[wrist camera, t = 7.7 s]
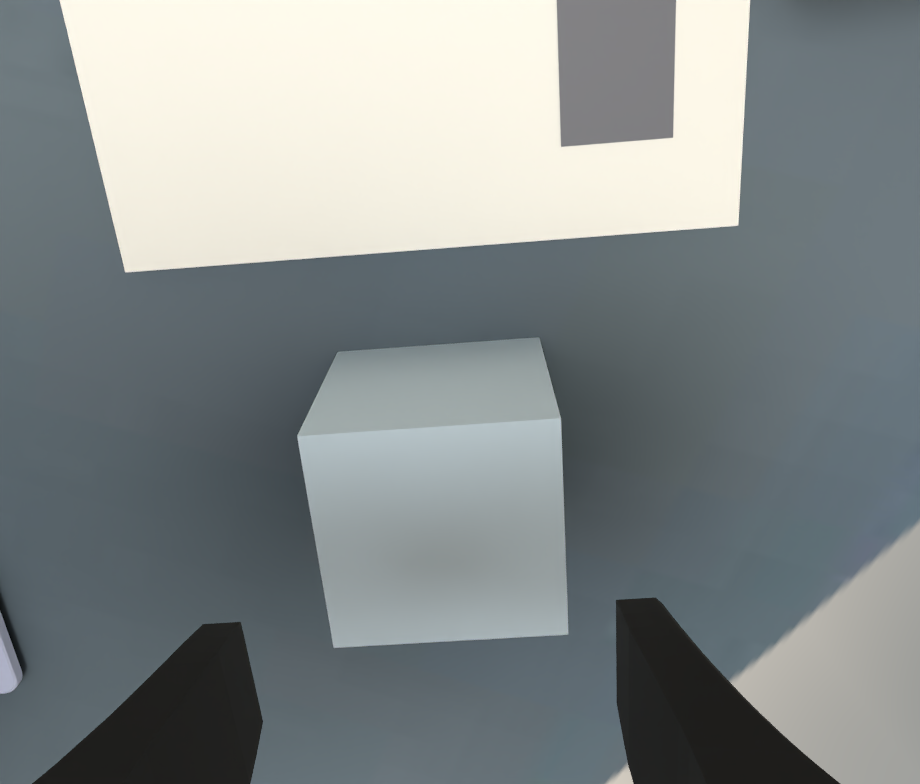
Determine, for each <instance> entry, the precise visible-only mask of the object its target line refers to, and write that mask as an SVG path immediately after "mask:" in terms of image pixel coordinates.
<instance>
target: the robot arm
mask: <svg viewBox="0 0 920 784" xmlns="http://www.w3.org/2000/svg"><path fill="white" fill-rule="evenodd" d="M616 653H617V706H618V712H619V717H620V723H621V729H622V734H623V739H624V745H625V750H626V755H627V760H628V765H629V769H630V772H631V775H632V779H633V782H634V784H840V783H839V782H837V781H836V780H835V779H834V778H832V777H831V776H830V775H829V774H827V773H826V772H825V771H824V770H823V769H821V768H820V767H819V766H818V765H817V764H815V763H814V762H813V761H812V760H811V759H809V758H808V757H807V756H806V755H805V754H803V752H801V751H800V750H799V749H798V748H797V747H796V746H795V745H793V744H792V743H791V742H790V741H789V740H788V739H787V738H786V737H785V736H783V735H782V734H781V733H780V732H779V731H778V730H777V729H776V728H775V727H774V726H773V725H772V724H771V723H770V722H769V721H767V719H765V718H764V717H763V716H762V715H761V714H760V713H759V712H758V711H757V710H756V709H755V708H754V707H753V706H752V705H751V704H750V703H749V702H748V701H747V700H746V699H745V698H744V697H743V696H742V695H741V694H740V693H739V692H738V691H737V689H736V688H735V687H734V686H733V685H732V684H731V683H730V682H729V681H728V680H727V679H726V678H725V677H724V676H723V675H722V674H721V673H720V671H719V670H718V669H717V668H716V667H715V666H714V665H713V664H712V663H711V662H710V660H709V659H708V658H707V657H706V656H705V655H704V654H703V653H702V651H701V650H700V649H699V648H698V647H697V646H696V644H695V643H694V642H693V641H692V640H691V639H690V637H689V636H688V635H687V634H686V633H685V631H684V630H683V629H682V628H681V627H680V625H679V624H678V623H677V622H676V620H675V619H674V618H673V617H672V615H671V614H670V613H669V612H668V610H667V609H666V608H665V606H664V605H663V604H662V603H661V602H660V601H659V600H658V599H656V598H642V599H625V600H616ZM22 677H23V676H22V670H21V667H20V665H19V662H18V659H17V656H16V653H15V651H14V648H13V645H12V642H11V640H10V637H9V634H8V631H7V628H6V626H5V623H4V620H3V617H2V615H1V612H0V694H3V693H9V692H11V691H13V690H14V689H15V688H16V687H17V686H18V684H19V683H20V682H21V679H22ZM262 723H263V720H262V715H261V711H260V706H259V702H258V698H257V693H256V689H255V684H254V680H253V675H252V671H251V666H250V662H249V657H248V653H247V648H246V644H245V639H244V635H243V630H242V626H241V622H233V623H216V624H203V625H202V626H201V627H200V628H199V629H198V630H197V631H196V632H194V633H193V634H192V635H191V636H190V637H189V638H188V639H187V640H186V641H185V642H184V643H183V644H182V645H181V646H180V647H179V648H178V649H177V650H176V651H175V652H174V653H173V654H172V655H171V656H170V657H169V658H168V659H167V660H166V661H165V662H164V663H163V664H162V665H161V666H160V667H159V668H158V669H157V670H156V671H155V672H154V673H153V674H152V675H151V676H150V677H149V678H148V679H147V680H146V681H145V682H144V683H143V684H142V685H141V686H140V687H139V688H138V689H137V690H136V691H135V692H134V693H133V694H132V695H131V696H130V697H129V698H128V699H127V700H126V701H125V702H123V703H122V704H121V705H120V706H119V707H118V708H117V709H116V710H115V711H114V712H113V713H112V714H111V715H110V716H109V717H108V718H107V719H106V720H105V721H103V722H102V723H101V724H100V725H99V726H98V727H97V728H96V729H95V730H93V731H92V732H91V733H90V734H89V735H88V736H87V737H86V738H84V739H83V740H82V741H81V742H80V743H79V744H78V745H77V746H76V747H74V748H73V749H72V750H71V751H70V752H69V753H68V754H67V755H65V756H64V757H63V758H62V759H61V760H60V761H59V762H58V763H57V764H55V765H54V766H53V767H52V768H51V769H49V770H48V771H47V772H46V773H45V774H44V775H42V776H41V777H40V778H39V779H37V780H36V781H35V782H34V783H32V784H250V782H251V778H252V773H253V769H254V764H255V759H256V755H257V749H258V744H259V739H260V734H261V729H262Z"/></svg>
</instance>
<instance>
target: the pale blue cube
mask: <svg viewBox="0 0 920 784" xmlns="http://www.w3.org/2000/svg"><path fill="white" fill-rule="evenodd" d="M297 439H298V444H299V450H300V456H301V462H302V467H303V473H304V479H305V485H306V491H307V496H308V502H309V508H310V514H311V519H312V525H313V531H314V537H315V543H316V548H317V554H318V560H319V566H320V571H321V577H322V583H323V589H324V595H325V600H326V606H327V612H328V618H329V623H330V629H331V635H332V641H333V646H334V648H340V647H358V646H375V645H393V644H410V643H428V642H446V641H463V640H481V639H498V638H516V637H533V636H551V635H568V609H567V580H566V551H565V522H564V493H563V463H562V434H561V417H560V413H559V409H558V405H557V402H556V398H555V394H554V391H553V387H552V383H551V379H550V376H549V372H548V368H547V365H546V361H545V357H544V353H543V350H542V346H541V342H540V338H539V337H536V338H522V339H508V340H494V341H481V342H467V343H453V344H439V345H425V346H412V347H398V348H384V349H370V350H356V351H343V352H337V354H336V356H335V358H334V360H333V362H332V365H331V367H330V369H329V371H328V373H327V375H326V377H325V379H324V381H323V383H322V385H321V387H320V390H319V392H318V394H317V396H316V398H315V400H314V402H313V404H312V406H311V408H310V410H309V412H308V415H307V417H306V419H305V421H304V423H303V425H302V427H301V429H300V431H299V433H298V435H297Z"/></svg>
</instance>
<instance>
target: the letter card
mask: <svg viewBox="0 0 920 784" xmlns="http://www.w3.org/2000/svg"><path fill="white" fill-rule="evenodd" d="M60 3H61V7H62V11H63V16H64V20H65V24H66V28H67V32H68V36H69V40H70V45H71V49H72V53H73V57H74V61H75V65H76V70H77V74H78V78H79V82H80V86H81V90H82V94H83V99H84V103H85V107H86V111H87V115H88V119H89V123H90V128H91V132H92V136H93V140H94V144H95V148H96V153H97V157H98V161H99V165H100V169H101V173H102V177H103V182H104V186H105V190H106V194H107V198H108V202H109V207H110V211H111V215H112V219H113V223H114V227H115V231H116V236H117V240H118V244H119V248H120V252H121V256H122V261H123V265H124V269H125V272H138V271H151V270H164V269H177V268H190V267H203V266H216V265H229V264H242V263H255V262H268V261H281V260H294V259H307V258H321V257H334V256H347V255H360V254H373V253H386V252H399V251H412V250H425V249H438V248H451V247H464V246H477V245H491V244H504V243H517V242H530V241H543V240H556V239H569V238H582V237H595V236H608V235H621V234H634V233H647V232H660V231H674V230H687V229H700V228H713V227H726V226H738V219H739V200H740V181H741V162H742V143H743V124H744V105H745V87H746V68H747V49H748V30H749V11H750V0H60Z"/></svg>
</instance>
